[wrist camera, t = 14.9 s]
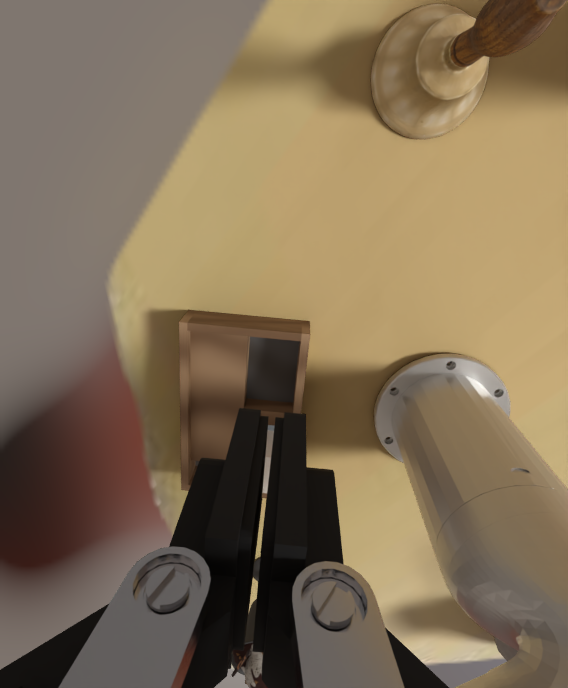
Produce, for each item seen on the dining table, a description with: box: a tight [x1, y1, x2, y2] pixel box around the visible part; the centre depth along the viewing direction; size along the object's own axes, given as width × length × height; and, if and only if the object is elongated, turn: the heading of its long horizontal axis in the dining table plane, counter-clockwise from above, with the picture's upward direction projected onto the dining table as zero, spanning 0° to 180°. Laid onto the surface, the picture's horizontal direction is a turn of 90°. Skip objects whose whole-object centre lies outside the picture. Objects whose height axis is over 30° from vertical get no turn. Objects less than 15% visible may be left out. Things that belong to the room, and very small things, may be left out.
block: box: [262, 430, 274, 493], centre depth 39 cm, size 4×4×4 cm
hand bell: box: [371, 0, 567, 139], centre depth 23 cm, size 8×8×16 cm
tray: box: [179, 310, 310, 498], centre depth 40 cm, size 18×11×3 cm, turn 175°
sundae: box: [232, 558, 267, 688], centre depth 44 cm, size 7×7×15 cm
